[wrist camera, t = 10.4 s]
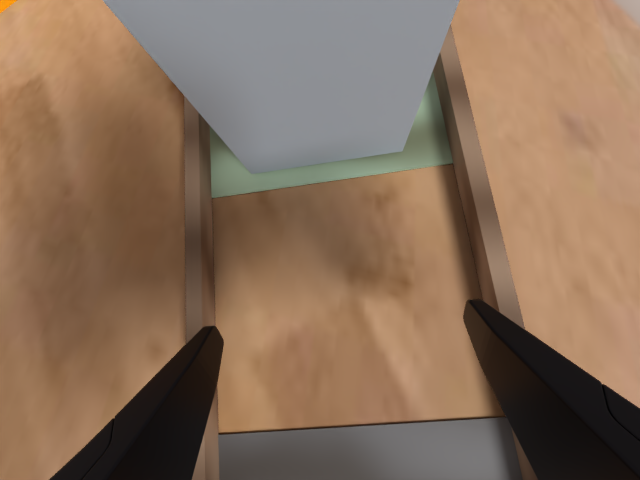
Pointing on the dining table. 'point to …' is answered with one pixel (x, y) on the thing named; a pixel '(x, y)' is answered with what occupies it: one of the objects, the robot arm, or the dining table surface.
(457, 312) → the dining table surface
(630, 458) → the robot arm
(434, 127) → the channel
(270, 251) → the dining table surface
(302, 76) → the slate block
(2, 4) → the flat orange slab
